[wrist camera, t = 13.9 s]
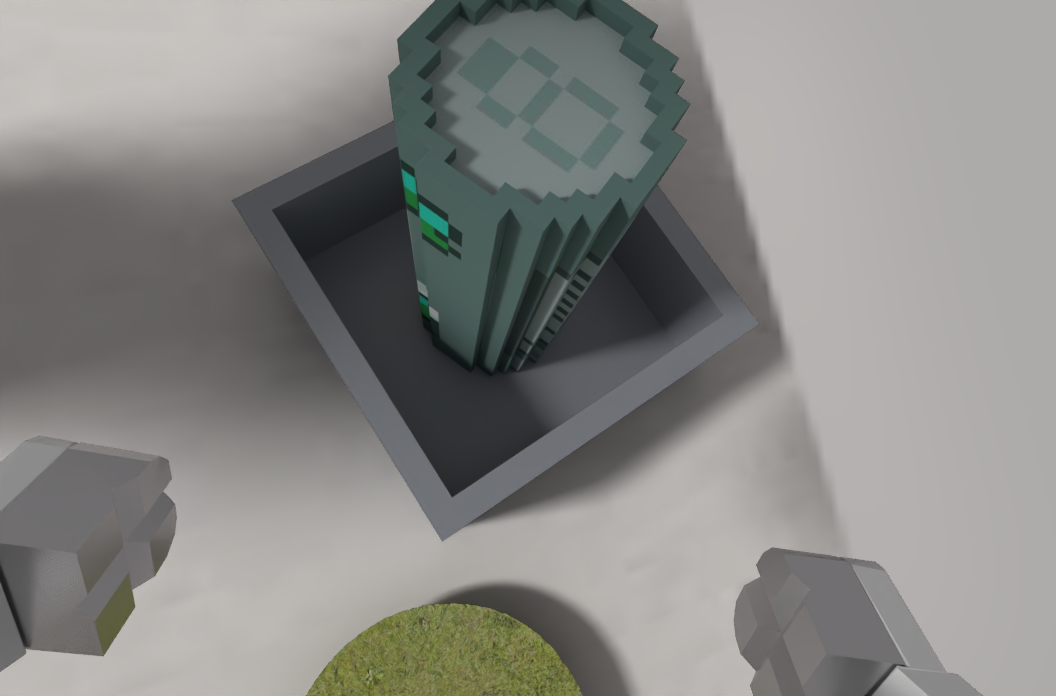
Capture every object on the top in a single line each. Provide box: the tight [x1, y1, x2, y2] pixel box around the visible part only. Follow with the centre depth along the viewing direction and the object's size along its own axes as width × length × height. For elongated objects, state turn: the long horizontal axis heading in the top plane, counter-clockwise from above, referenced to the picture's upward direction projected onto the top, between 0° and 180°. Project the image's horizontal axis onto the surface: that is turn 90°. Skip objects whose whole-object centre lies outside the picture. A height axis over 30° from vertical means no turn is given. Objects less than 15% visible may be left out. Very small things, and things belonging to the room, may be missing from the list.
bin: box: [232, 121, 759, 541], centre depth 25 cm, size 14×14×6 cm
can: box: [388, 0, 690, 376], centre depth 20 cm, size 6×6×15 cm
